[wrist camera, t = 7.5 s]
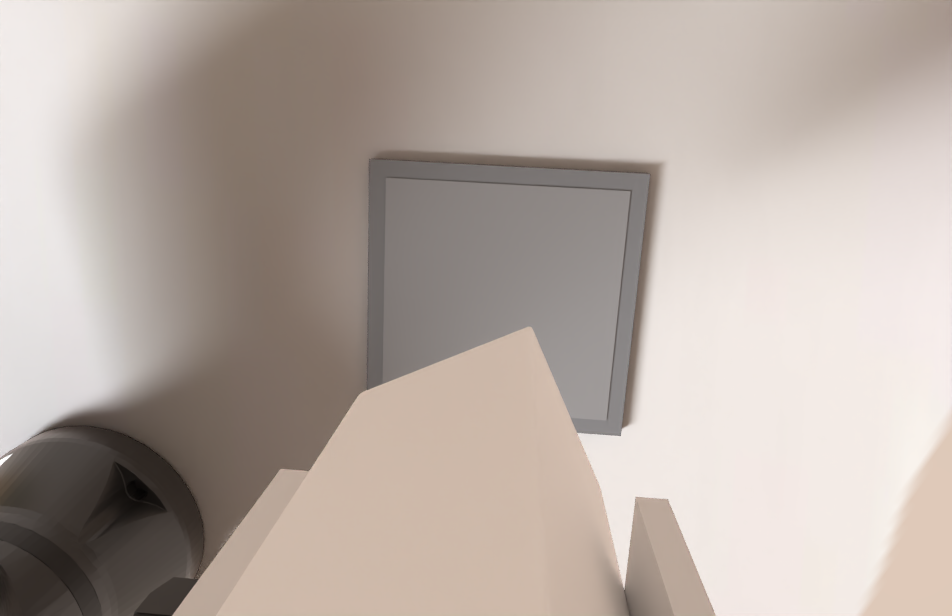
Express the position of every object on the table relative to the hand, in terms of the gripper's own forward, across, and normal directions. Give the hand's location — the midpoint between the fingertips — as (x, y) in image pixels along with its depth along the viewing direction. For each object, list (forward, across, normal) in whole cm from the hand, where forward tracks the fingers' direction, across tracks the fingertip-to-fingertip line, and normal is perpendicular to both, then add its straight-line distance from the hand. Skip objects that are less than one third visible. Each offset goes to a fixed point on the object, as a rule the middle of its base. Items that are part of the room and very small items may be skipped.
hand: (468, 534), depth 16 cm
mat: (+25, 0, 0) cm, 25 cm away
